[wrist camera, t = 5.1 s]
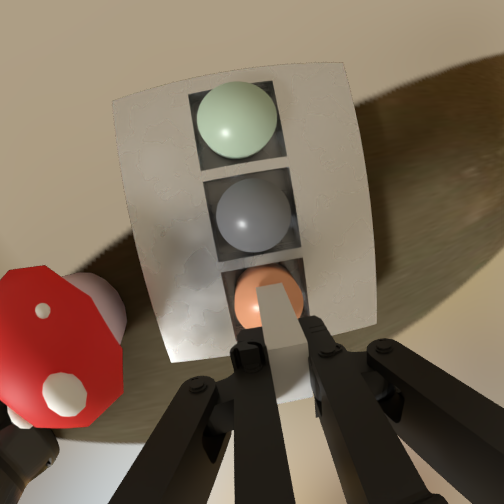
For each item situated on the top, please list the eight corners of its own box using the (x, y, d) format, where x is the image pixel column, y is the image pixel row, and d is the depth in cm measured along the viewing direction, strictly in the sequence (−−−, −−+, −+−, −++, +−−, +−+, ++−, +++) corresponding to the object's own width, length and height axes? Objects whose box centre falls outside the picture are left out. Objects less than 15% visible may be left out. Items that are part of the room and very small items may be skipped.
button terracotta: (240, 324, 19) (241, 341, 17) (229, 268, 18) (228, 279, 16) (299, 313, 19) (306, 328, 17) (292, 257, 18) (299, 266, 16)
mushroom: (45, 344, 21) (-26, 419, 9) (40, 229, 19) (-71, 269, 7) (147, 377, 22) (104, 488, 10) (157, 255, 20) (73, 339, 8)
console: (179, 337, 21) (171, 362, 18) (131, 113, 17) (111, 100, 14) (358, 304, 21) (376, 323, 18) (326, 79, 18) (343, 62, 14)
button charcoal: (225, 249, 18) (224, 258, 16) (213, 185, 17) (209, 185, 15) (289, 238, 18) (295, 245, 16) (278, 174, 17) (284, 172, 15)
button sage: (208, 165, 16) (203, 162, 14) (197, 100, 15) (191, 89, 13) (277, 153, 16) (283, 148, 14) (265, 89, 15) (269, 76, 13)
